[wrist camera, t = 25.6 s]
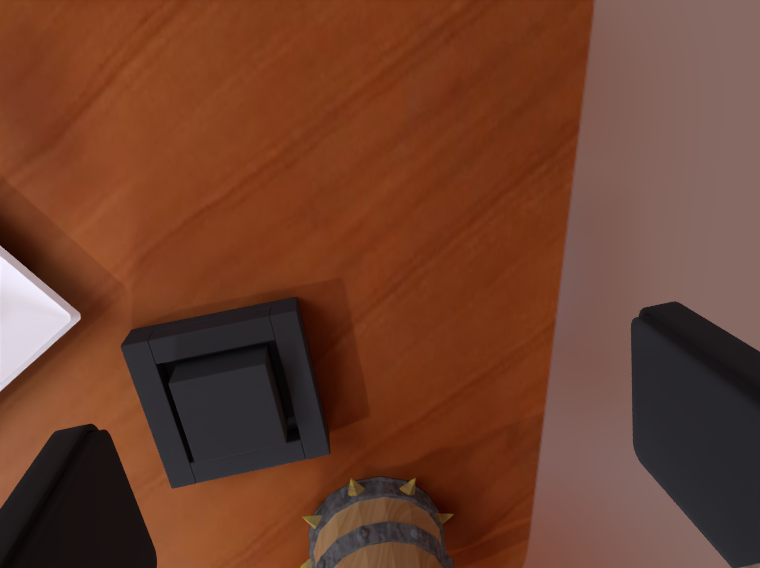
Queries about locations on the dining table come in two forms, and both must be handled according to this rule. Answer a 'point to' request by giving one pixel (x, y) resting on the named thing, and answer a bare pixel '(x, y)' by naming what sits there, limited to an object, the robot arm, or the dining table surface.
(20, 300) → the plate
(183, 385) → the small pad
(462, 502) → the dining table surface
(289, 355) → the base pad
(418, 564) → the mug
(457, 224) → the dining table surface
